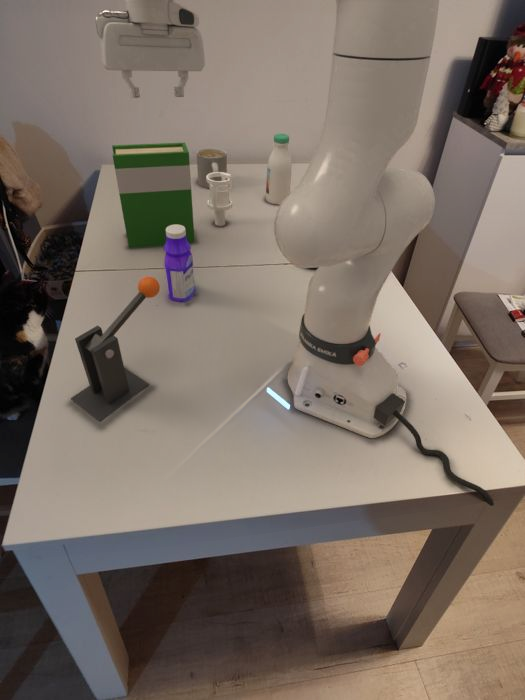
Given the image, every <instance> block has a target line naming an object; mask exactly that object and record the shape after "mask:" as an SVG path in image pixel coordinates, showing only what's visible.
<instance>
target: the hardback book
mask: <svg viewBox="0 0 525 700" xmlns="http://www.w3.org/2000/svg"><path fill="white" fill-rule="evenodd" d="M111 149H112V152H113V153H112V161H113V167H114V171H115V177H116V178H115V179H116V183H117V188H118V194H119V199H120V205H121V212H122V217H123V222H124V227H125V234H126V239H127V244H128V249H136V248H137V249H138V248H148V247H149V248H150V247H161V246H165V244H166V228H167V227H168V226H170V225H175V224H178V225H182V226H184V227H185V231H186V238H187V241H188V242H189V244H195V225H194V224H195V223H194V210H193V197H192V195H193V194H192V193H193V192H192V181H191V165H190V152H189V149H188V147H187V144H186V142H166V143H165V142H164V143H162V142H161V143H139V144H138V143H137V144H136V143H135V144H112V145H111Z"/></svg>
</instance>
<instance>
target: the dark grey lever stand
mask: <svg viewBox="0 0 525 700" xmlns="http://www.w3.org/2000/svg"><path fill="white" fill-rule="evenodd" d="M95 334H97V335H99V336H100V337H101V336H102V335H103V334H104V332H103V329H102V327H101V326H100V325H96V326H94V327H93V328H91V329H88V330H87V331H86V332H84V333H82V334H81V335H78V336H77V337H75V338H74V340H75V344H76V346H77V350H78V353H79V357H80V360H81V362H82V365H83V369H84V371H85V375H86V377H87V381H88V384H89V385H88V386H86V388H83V390H81V391H79V392H78V393H76V394H75V395H73V396H72V397H70V400H71V401H72V402H73V403H75V404H76V405H77V406H78V407H80V408H81V409H82V410H84V411H85V412H86V413H88V414H89V415H90V416H92V417H93V418H94V419H95V420H97V421H98V422H99V423H100V422H102V421H103V420H105V419H106V418H107V417H108V416H110V415H112V414H113V413H114V412H115V411H117V410H118V409H119V408H121V407H122V406H123V405H125V404H126V403H127V402H129V401H130V400H131V399H133V398H135V397H136V396H137V395H138V394H139V393H141V392H142V391H143V390H145V389H146V388H147V387H149V386H150V383H148V382H147V381H145V380H143V379H142V378H141V377H139V376H137V375H136V374H134V372H132V371H130V370H129V369H127V368H126V367H125V366H124V364H125V363H124V361H123V356H122V352H121V348H120V347H121V346H120V343H119V340H118V339H119V338H118V337H117V336H115V335H114V336H112V337H110V338H108V339H107V340H105V341H104V342H102V343H100V344H99V345H97V346H95V347H94V348H92V349H91V352H92V353H91V352H90V351H89V350H87V349H86V348H85V346H86V345H87V344H88V342H89V341H90V340H91V339H92V338H93V337H94V335H95Z"/></svg>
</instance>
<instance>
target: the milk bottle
mask: <svg viewBox="0 0 525 700" xmlns="http://www.w3.org/2000/svg"><path fill="white" fill-rule="evenodd" d="M289 144H290V136H289V135H288V134H286V133H276V134H274V135H273V148H272V150H271V152H270V155H269V157H268V161H267V165H266V166H267V167H266V181H265V182H266V183H265V200H266V202H268V203H269V204H272V205H280V204H281V203H282V201H283V200H284V199H285V198H286V197H287V196H288V195H289V194H290V193H291V182H292V171H293V170H292V168H293V167H292V165H293V163H292V158H291V154H290V151H289Z"/></svg>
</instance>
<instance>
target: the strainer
mask: <svg viewBox="0 0 525 700" xmlns="http://www.w3.org/2000/svg"><path fill="white" fill-rule="evenodd" d="M212 177H222V181H213V180H211V179H210V178H212ZM226 178H227V180H226ZM206 181H207V183H209V184H210V186H209V188H208V190H209V199H207V202H206V204H207V205H206V206H207V208H208V209H210V210H211V211H214V225H215V226H218V227H222V226H225V225H226V211H228V210H230V209H232V208H233V201H232V199H231V198H230V189H231V188H232V186H233V185H232V183H233V175H232V174H231V173H228V172H227V173H224V172H213V173H210V174H208V175H207V176H206Z"/></svg>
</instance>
